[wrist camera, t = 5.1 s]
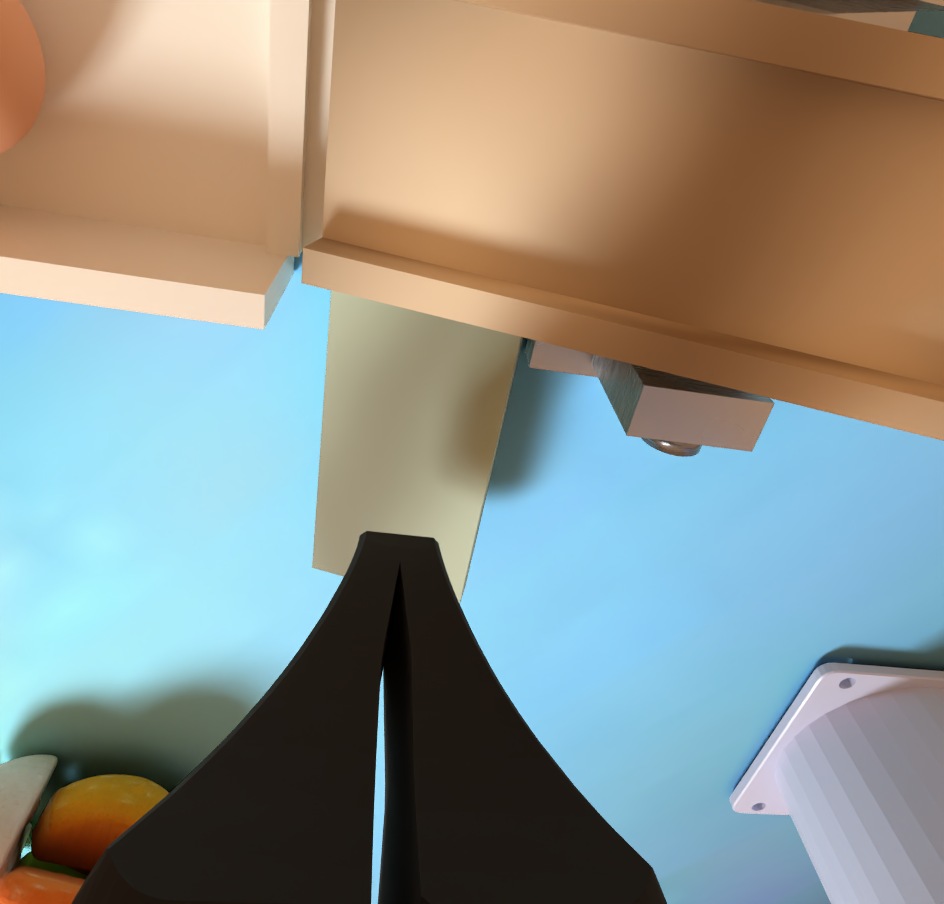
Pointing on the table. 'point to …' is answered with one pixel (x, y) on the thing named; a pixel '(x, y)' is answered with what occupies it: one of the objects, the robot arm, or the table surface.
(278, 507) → the table surface
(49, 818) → the colorful rounded pieces cluster
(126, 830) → the robot arm
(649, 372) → the mount
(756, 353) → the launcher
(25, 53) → the ball
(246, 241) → the tan shallow rectangular box
